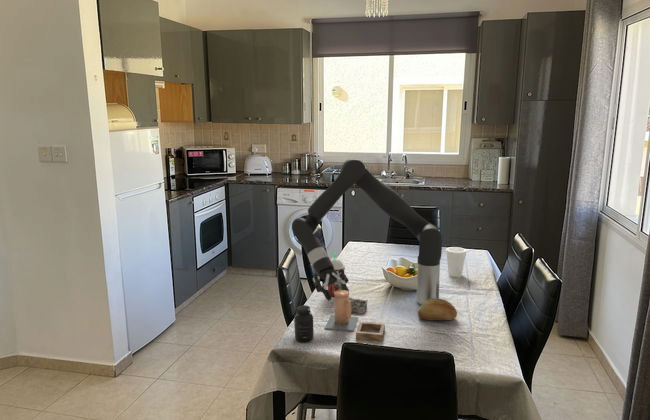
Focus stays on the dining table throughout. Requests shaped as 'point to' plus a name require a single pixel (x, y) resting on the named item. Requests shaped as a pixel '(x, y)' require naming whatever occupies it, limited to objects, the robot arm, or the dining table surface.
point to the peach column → (342, 307)
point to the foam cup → (455, 261)
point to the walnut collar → (370, 335)
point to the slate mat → (347, 327)
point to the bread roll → (437, 310)
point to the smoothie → (337, 266)
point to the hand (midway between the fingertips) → (339, 296)
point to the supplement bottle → (303, 324)
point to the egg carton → (358, 305)
